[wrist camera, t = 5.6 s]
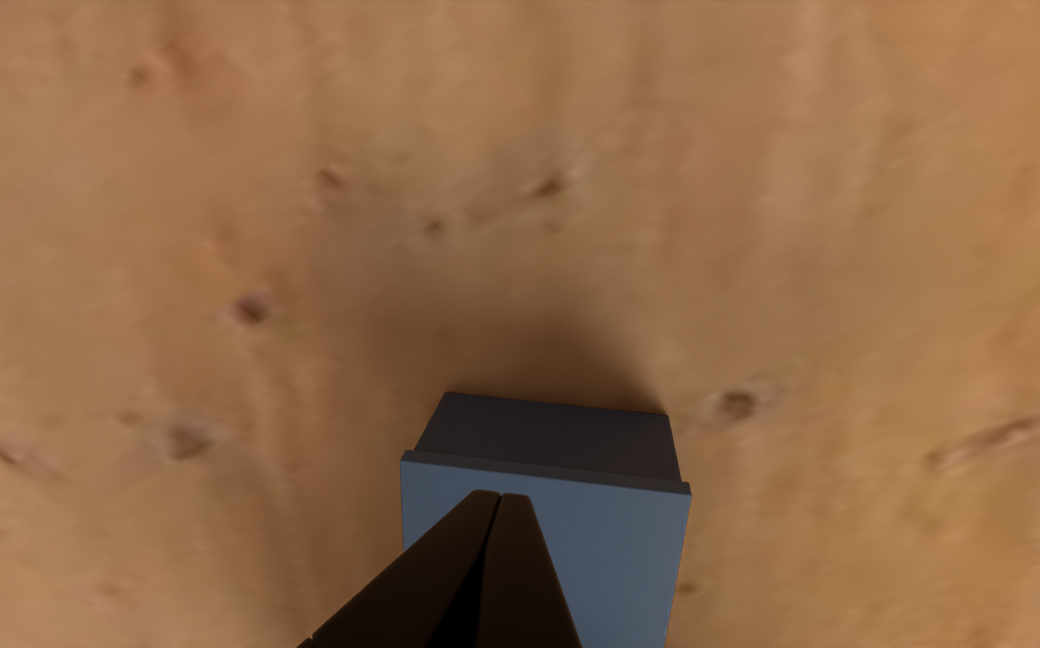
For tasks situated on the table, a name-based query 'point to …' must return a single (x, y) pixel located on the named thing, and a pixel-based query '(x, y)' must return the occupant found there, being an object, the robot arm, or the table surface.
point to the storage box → (567, 500)
